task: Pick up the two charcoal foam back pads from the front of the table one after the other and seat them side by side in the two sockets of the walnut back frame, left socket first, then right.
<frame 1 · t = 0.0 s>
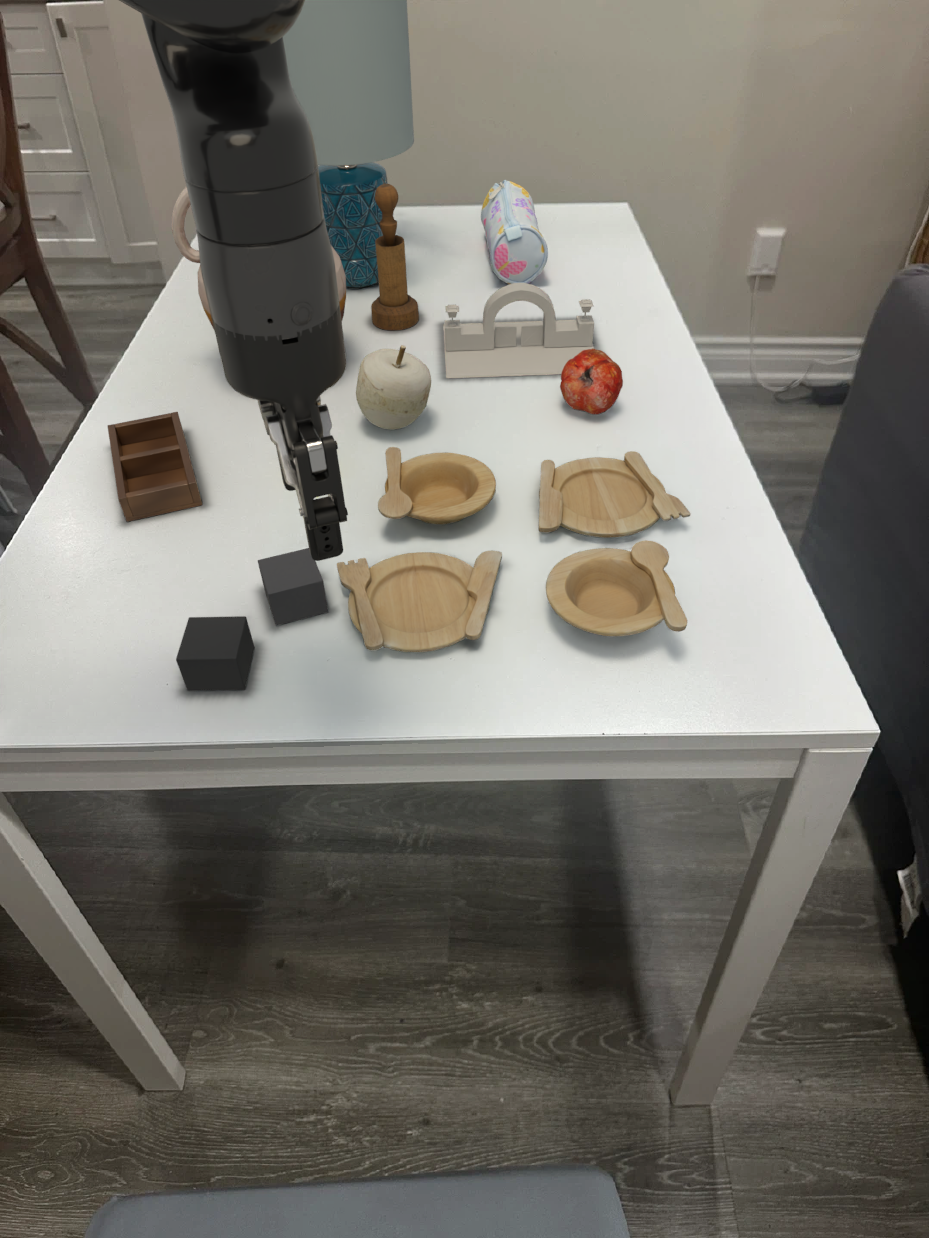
hand: (312, 519, 62), 18 cm above the table, tool pointing down, fingers open, 8 cm apart
pomegranate: (588, 408, 106), on the table
gateway: (518, 348, 117), on the table
pad right: (296, 601, 82), on the table
decorative object: (396, 425, 104), on the table
tableware set: (517, 554, 87), on the table
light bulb: (316, 468, 98), on the table
jug: (280, 368, 114), on the table
lamp: (358, 278, 133), on the table
back frame: (157, 475, 97), on the table
pencil case: (512, 263, 137), on the table
pad left: (221, 668, 76), on the table
mortar and pestle: (395, 321, 123), on the table
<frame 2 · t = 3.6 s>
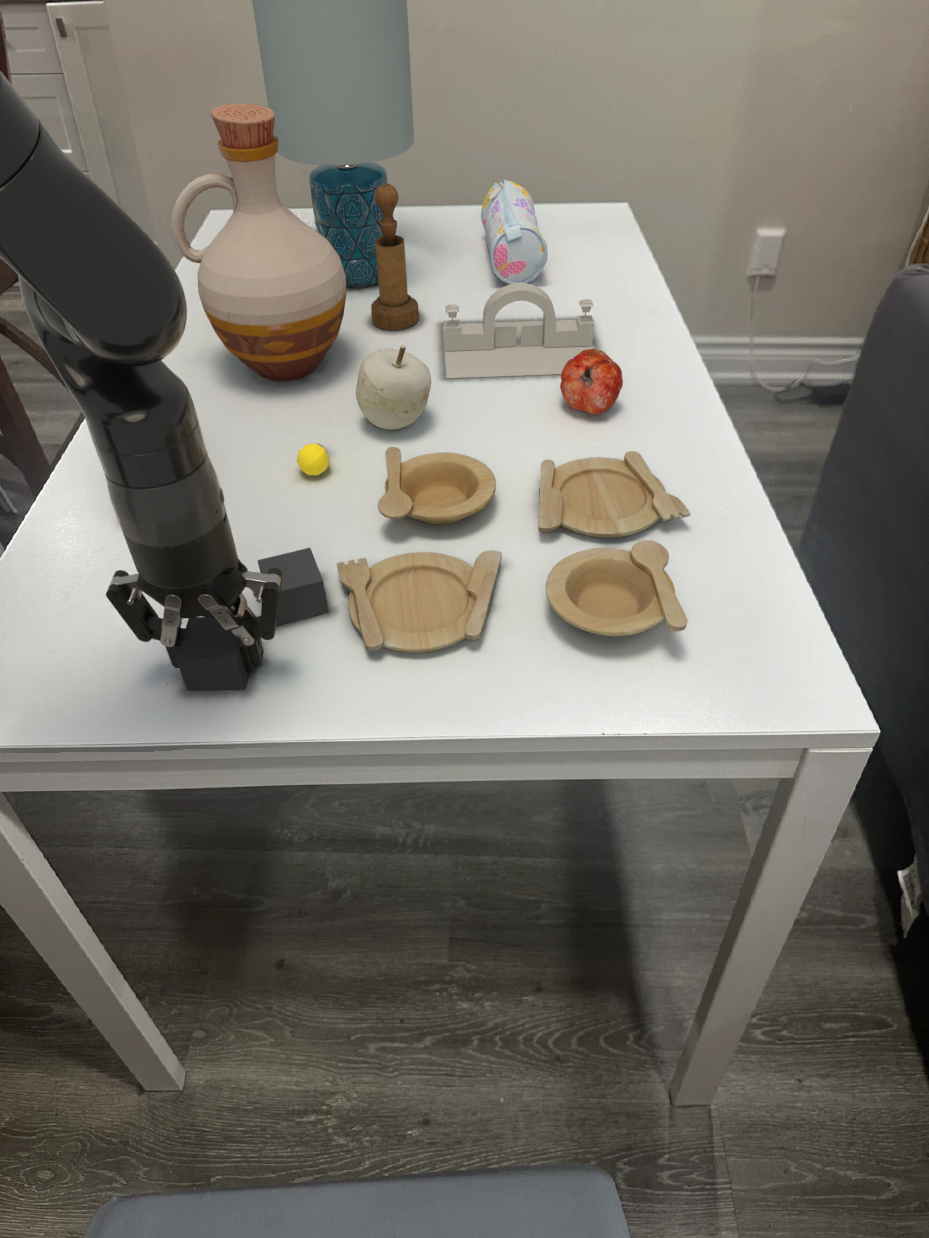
hand: (221, 665, 76), 0 cm above the table, tool pointing down, fingers closed on pad left, 5 cm apart
pad left: (221, 668, 76), on the table, touching gripper
everything else where it was.
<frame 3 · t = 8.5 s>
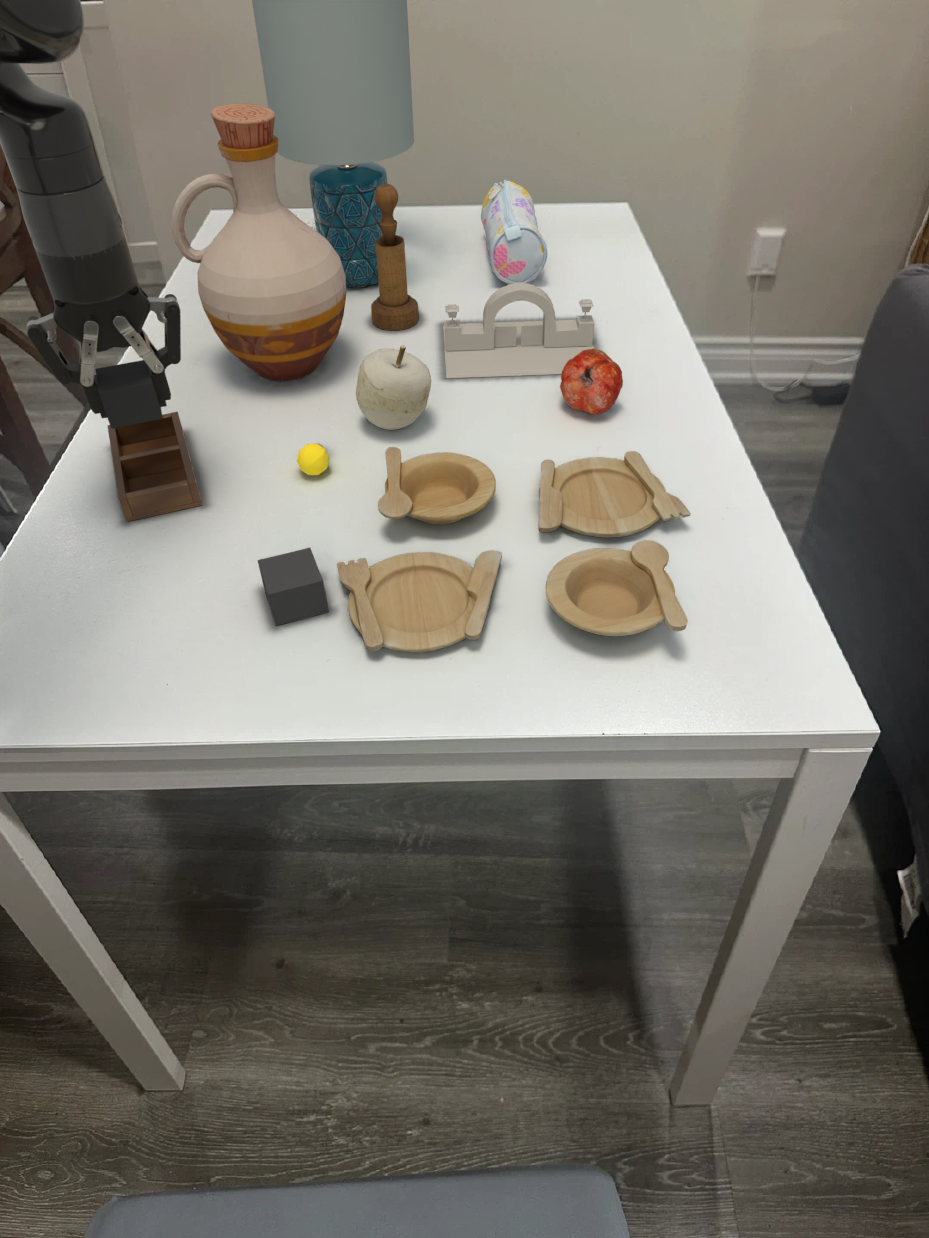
hand: (134, 407, 87), 11 cm above the table, tool pointing down, fingers closed on pad left, 5 cm apart
pad left: (135, 411, 87), point 10 cm above the table, touching gripper
everything else where it was.
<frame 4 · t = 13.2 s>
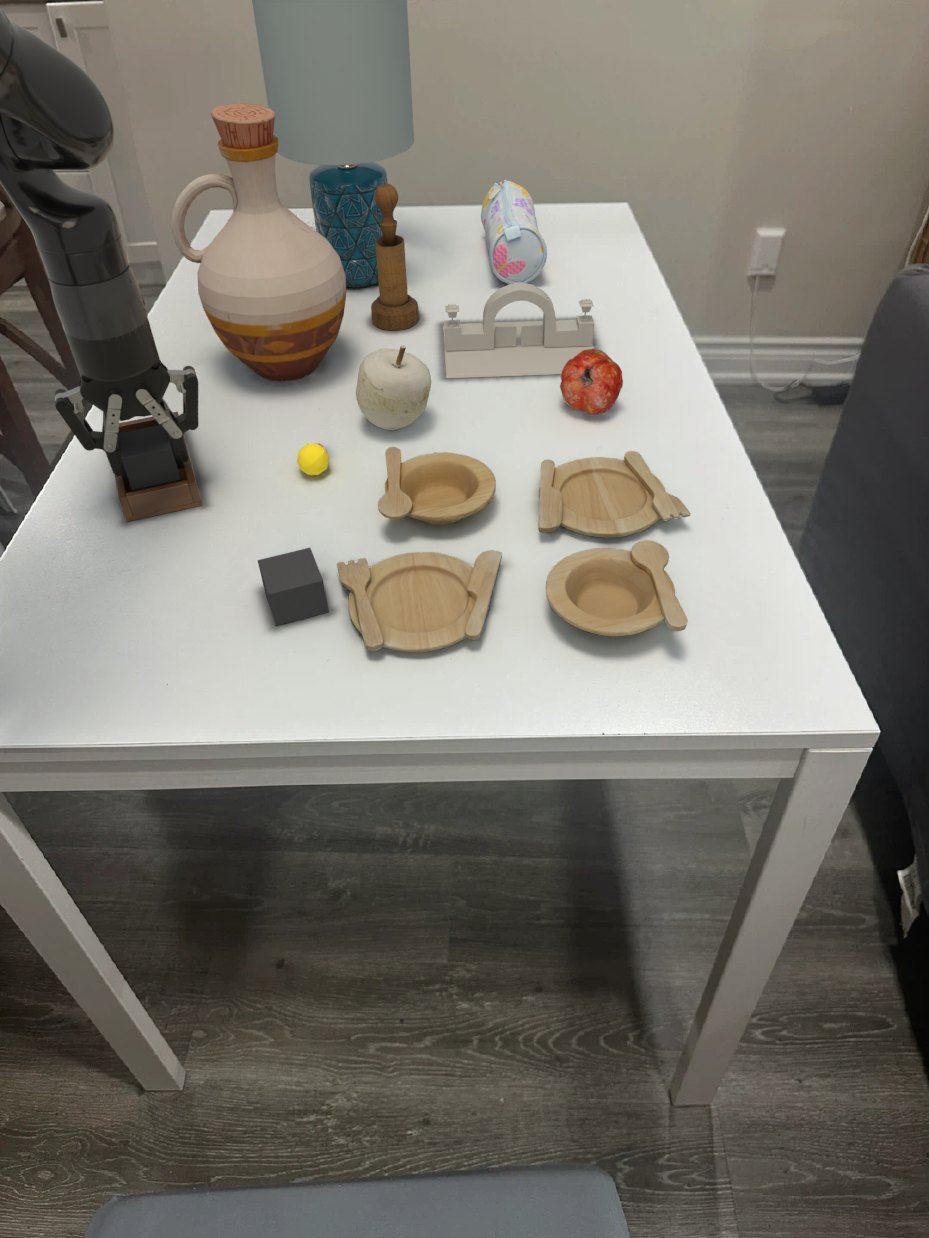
hand: (153, 469, 92), 3 cm above the table, tool pointing down, fingers closed on pad left, 5 cm apart
pad left: (154, 472, 93), point 3 cm above the table, touching gripper
everything else where it was.
when the fingers open (3 cm above the table, at t = 13.4 s): pad left drops 2 cm, resting on back frame.
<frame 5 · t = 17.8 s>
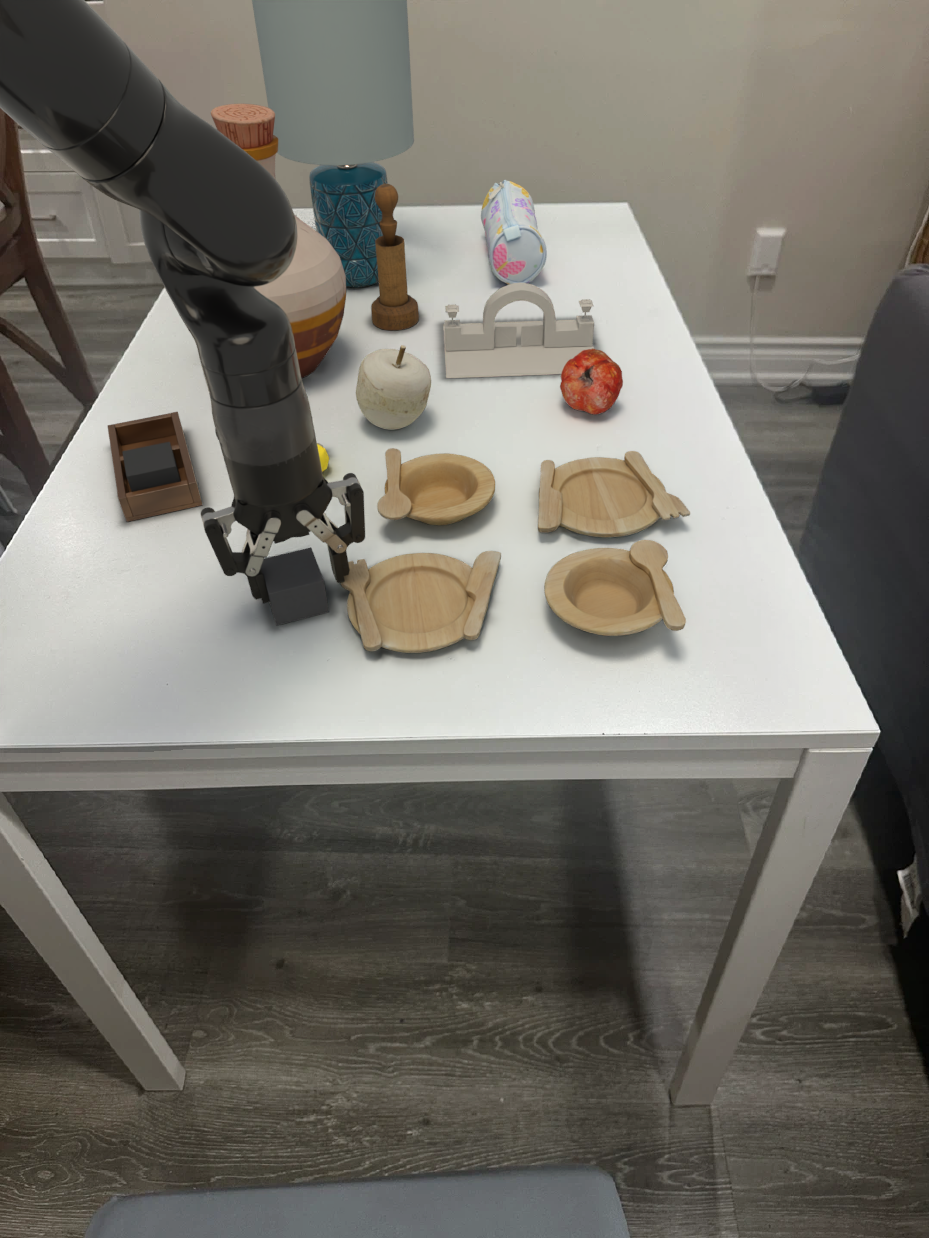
hand: (302, 586, 81), 2 cm above the table, tool pointing down, fingers open, 6 cm apart
pad right: (297, 601, 82), on the table, touching gripper
tableware set: (516, 554, 87), on the table, touching gripper
pad left: (158, 489, 94), resting on back frame
everything else where it was.
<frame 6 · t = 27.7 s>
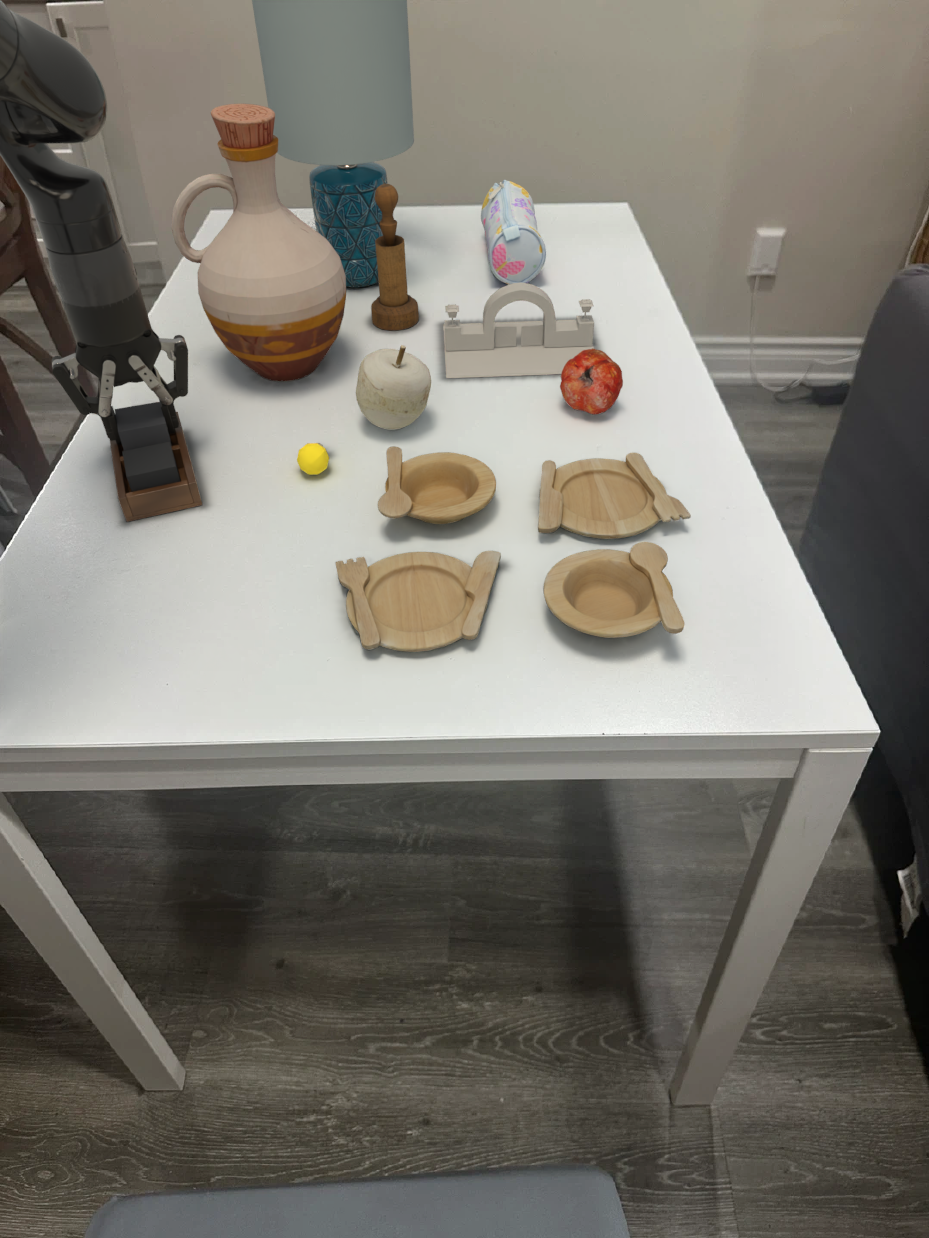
hand: (145, 435, 97), 3 cm above the table, tool pointing down, fingers closed on pad right, 5 cm apart
pad right: (148, 447, 98), point 2 cm above the table, touching gripper
tableware set: (516, 554, 86), on the table
everything else where it was.
when the fingers open (3 cm above the table, at t = 28.1 s): pad right drops 1 cm, resting on back frame.
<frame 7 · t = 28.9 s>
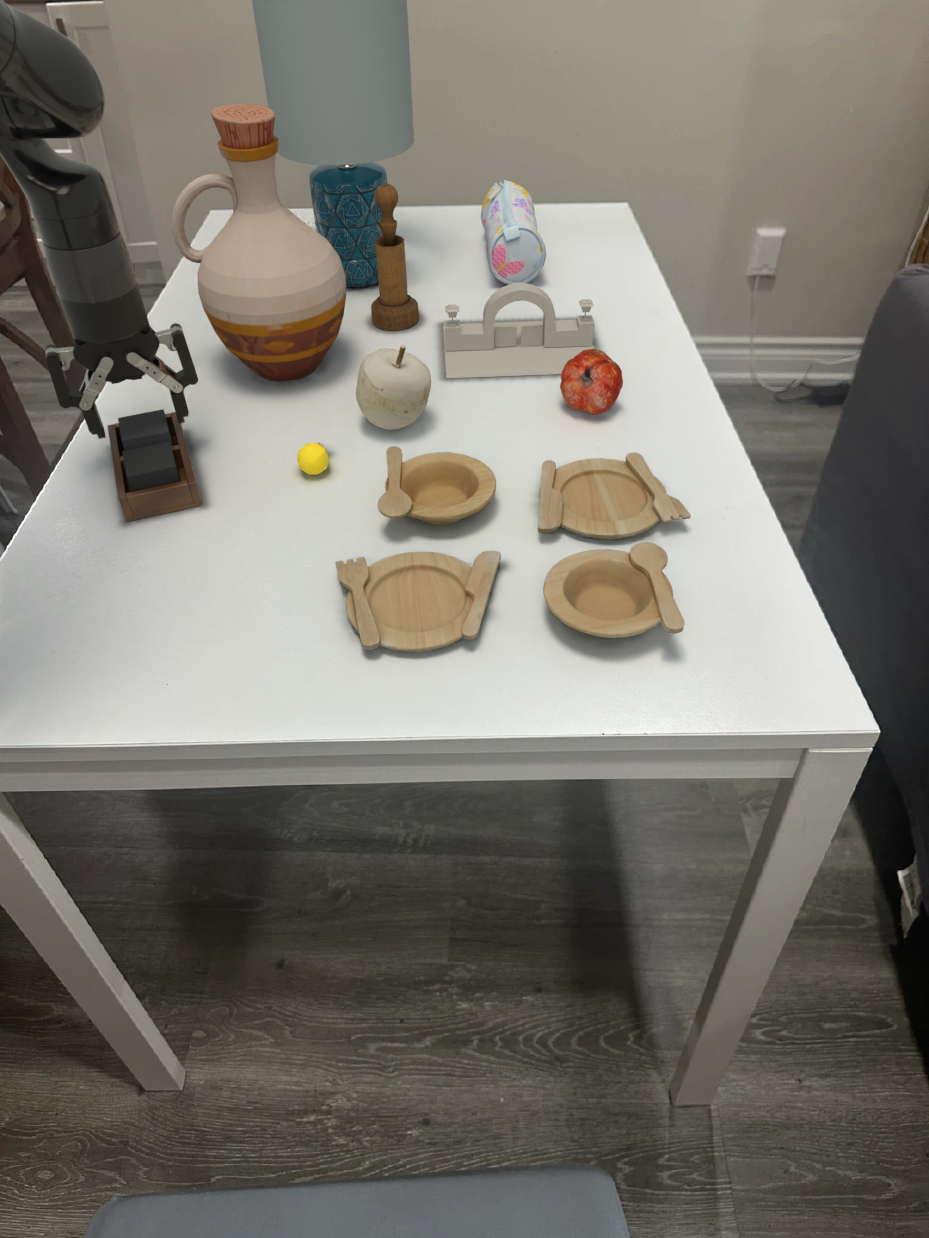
hand: (142, 427, 96), 4 cm above the table, tool pointing down, fingers open, 8 cm apart
pad right: (152, 455, 99), resting on back frame
everything else where it was.
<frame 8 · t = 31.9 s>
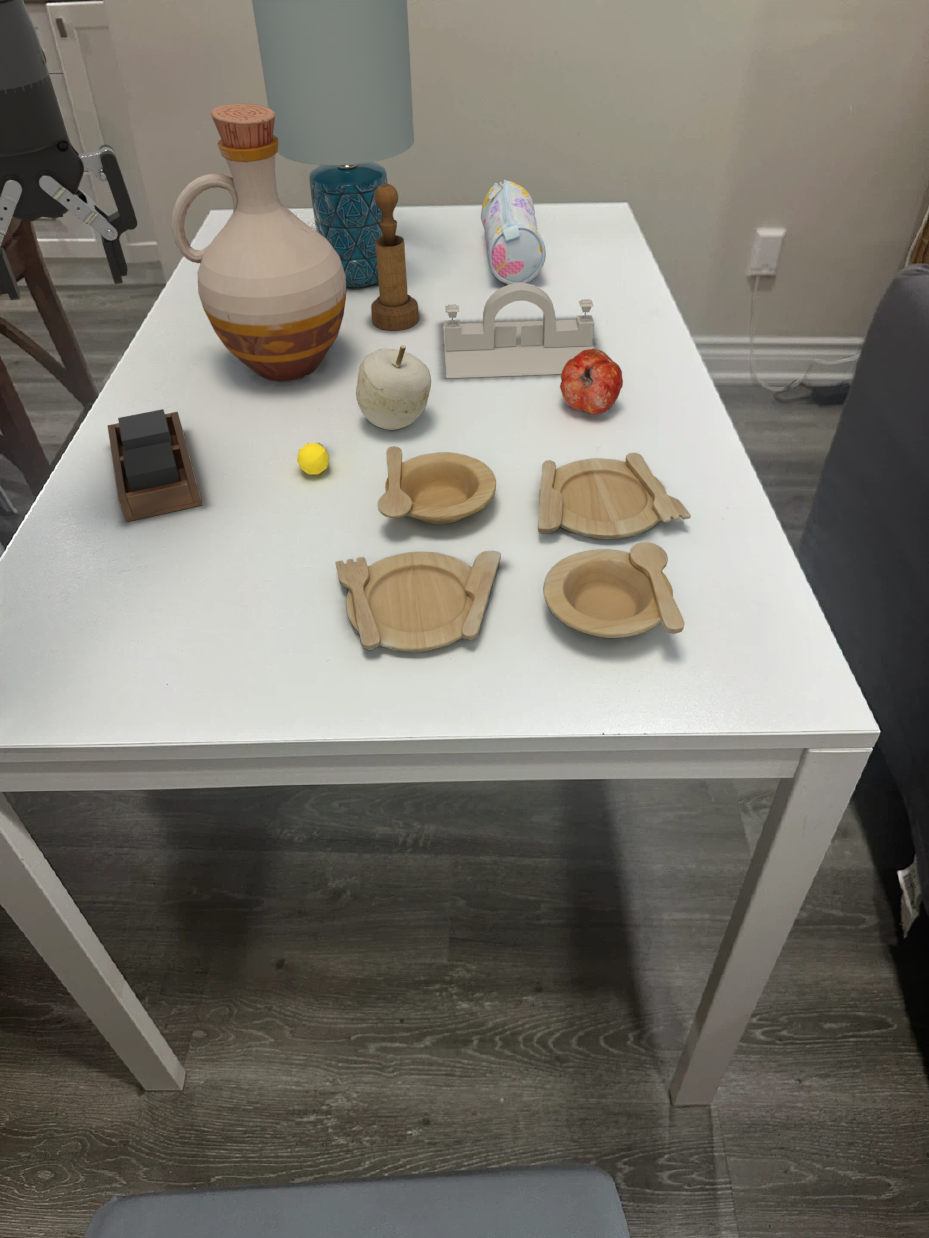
hand: (68, 288, 75), 24 cm above the table, tool pointing down, fingers open, 8 cm apart
nothing on the table moved.
at the end: pad left 0.1 cm from the target spot in the back frame, point 0.5 cm above the back frame's base; pad right 0.0 cm from the target spot in the back frame, point 0.5 cm above the back frame's base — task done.
